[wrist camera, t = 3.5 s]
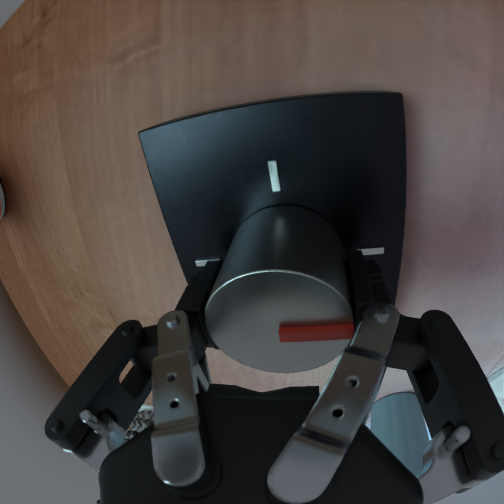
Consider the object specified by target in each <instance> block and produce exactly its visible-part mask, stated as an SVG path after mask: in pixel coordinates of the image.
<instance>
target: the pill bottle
mask: <svg viewBox="0 0 504 504" xmlns="http://www.w3.org/2000/svg"><path fill="white" fill-rule="evenodd" d="M4 212H5V197H4V193H3V189H2V185H1V183H0V219H1V218H2V217H3V215H4Z"/></svg>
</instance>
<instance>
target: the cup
mask: <svg viewBox="0 0 504 504" xmlns="http://www.w3.org/2000/svg"><path fill="white" fill-rule="evenodd" d="M370 430H371V431H372V432H373V433H374V435H375V436H376V437H377V438H378V439H379V440H380V441H381V442H382V443H383V444H384V445H385V446H386V447H387V448H388V449H389V450H390V451H391V452H392V453H393V454H394V455H395V456H396V457H397V458H398V459H399V460H400V461H401V462H402V463H403V464H404V465H405V466H406V467H407V468H408V469H409V470H410V471H411V472H412V473H413V474H414V475H415V476H416V477H417V478H418V476H419V475H420V473H421V471H422V468H423V458H422V457H423V451H424V449H425V447H426V445H427V444H428V443H429V442H430V441H429V437H428V433H427V429H426V426H425V422H424V419H423V415H422V412H421V408H420V405H419V402H418V399H417V397H416V395H414V394H413V393H406V392H405V393H396V394H392V395H389V396H386V397H384V398H382V399H380V400H378V401H377V402H376V403H375V404H374V405H373V407H372V413H371V429H370Z"/></svg>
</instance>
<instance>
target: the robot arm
mask: <svg viewBox="0 0 504 504" xmlns="http://www.w3.org/2000/svg"><path fill="white" fill-rule="evenodd" d="M223 262H224V260H208V261H207V262H206V264H205V266H204V268H203V270H202V271H198V272H197V273H196V274H195V275H194V276H193V277H191V279H190V281H189V283H188V286H187V287H186V289H185V292H184V293H183V295H182V297H181V299H180V301H179V302H178V304H177V306H176V308H175V310H174V311H170V312H168V313H166V314H164V315H163V316H162V317H161V318H160V319H159V321H158V324H157V325H153V326H148V327H144V328H143V327H142V325H141V324H140V322H139V321H137V320H128V321H126V322H123V323H122V324H120V325H119V326H118V327H117V328H116V330H115V331H114V332H113V333H112V335H111V336H110V337H109V338H108V340H107V341H106V342H105V343H104V345H103V346H102V347H101V348H100V350H99V351H98V352H97V353H96V355H95V356H94V357H93V359H92V360H91V361H90V362H89V364H88V365H87V366H86V368H85V369H84V370H83V371H82V373H81V374H80V375H79V377H78V378H77V379H76V381H75V382H74V383H73V385H72V386H71V387H70V389H69V390H68V391H67V393H66V394H65V395H64V397H63V398H62V400H61V401H60V403H59V404H58V405H57V407H56V408H55V409H54V411H53V412H52V413H51V415H50V416H49V418H48V419H47V421H46V424H45V434H46V436H47V437H48V438H49V439H50V440H51V441H53V442H54V443H56V444H57V445H58V446H60V447H61V448H62V449H63V450H64V451H66V452H67V453H69V454H70V455H72V456H73V457H75V458H76V459H78V460H80V461H83V462H84V463H86V464H87V465H89V466H90V467H91V468H93V469H94V470H96V471H97V472H98V473H99V486H100V504H431V503H434V502H436V501H438V500H441V499H443V498H445V497H447V496H449V495H451V494H453V493H462V492H465V491H466V490H469V489H471V488H473V487H475V486H477V485H478V484H480V483H482V482H484V481H486V480H487V479H489V478H491V477H493V476H495V475H496V474H498V473H500V472H501V471H502V470H504V413H503V411H502V409H501V406H500V404H499V402H498V400H497V398H496V396H495V394H494V392H493V390H492V388H491V386H490V384H489V382H488V380H487V378H486V376H485V374H484V372H483V371H482V369H481V367H480V365H479V363H478V361H477V360H476V358H475V356H474V354H473V353H472V351H471V349H470V347H469V346H468V344H467V342H466V341H465V339H464V337H463V336H462V334H461V333H460V331H459V329H458V328H457V326H456V325H455V323H454V321H453V320H452V318H451V317H450V316H449V315H448V314H447V313H445V312H443V311H440V310H430V311H427V312H425V313H424V314H423V315H422V316H421V318H420V319H419V318H412V317H407V316H404V315H402V314H400V313H399V311H398V309H397V308H396V307H395V306H393V305H392V303H391V300H390V297H389V293H388V290H387V287H386V284H385V282H384V277H383V275H382V271H381V268H380V266H379V265H378V264H377V263H376V262H375V261H374V260H364V257H363V253H362V250H352V251H346V252H345V263H346V268H347V274H348V280H349V286H350V292H351V298H352V305H353V312H354V319H355V328H354V337H353V339H352V341H351V344H350V346H349V347H345V348H344V350H343V351H342V353H341V355H340V357H339V359H338V361H337V363H336V365H335V367H334V369H333V371H332V373H331V375H330V377H329V379H328V381H327V382H326V384H325V386H324V388H323V390H322V392H321V394H319V386H304V387H287V388H282V389H278V390H273V391H268V392H257V391H253V390H249V389H246V388H242V387H239V386H236V385H223V384H212V381H211V376H210V371H209V367H208V362H207V357H206V354H205V350H206V347H212V348H215V347H216V344H215V343H214V342H213V340H212V339H211V337H210V335H209V333H208V331H207V328H206V325H205V319H204V313H205V307H206V303H207V301H208V299H209V296H210V294H211V291H212V289H213V286H214V284H215V282H216V279H217V277H218V274H219V272H220V269H221V267H222V265H223ZM130 360H131V362H132V363H133V364H134V365H133V367H132V368H131V369H130V371H129V372H128V374H127V375H126V377H125V378H124V379H123V381H122V382H121V384H120V382H119V376H120V374H121V372H122V371H123V369H124V368H125V366H126V365H127V364H128V362H129V361H130ZM387 367H390V368H396V369H402V370H406V371H407V373H408V376H409V378H410V381H411V383H412V386H413V388H414V391H415V393H416V396H417V399H418V401H419V404H420V407H421V409H422V412H423V415H424V418H425V420H426V423H427V426H428V429H429V432H430V435H431V438H432V440H431V441H430V442H429V443H428V444H427V445H426V447H425V449H424V451H423V457H422V458H423V468H422V471H421V473H420V475H419V476H418V478H417V477H416V476H415V475H414V474H413V473H412V472H411V471H410V470H409V469H408V468H407V467H406V466H405V465H404V464H403V463H402V462H401V461H400V460H399V459H398V458H397V457H396V456H395V455H394V454H393V453H392V452H391V451H390V450H389V449H388V448H387V447H386V446H385V445H384V444H383V443H382V442H381V441H380V440H379V439H378V438H377V437H376V436H375V435H374V433H373V432H372V431H371V430H370V429H369V428H368V427H367V426H366V425H365V424H366V421H367V419H368V417H369V414H370V412H371V409H372V407H373V404H374V401H375V399H376V396H377V393H378V391H379V388H380V386H381V383H382V380H383V377H384V375H385V372H386V369H387ZM151 390H152V394H153V413H154V422H153V423H152V424H150V425H149V426H148V427H146V428H145V429H144V430H142V431H141V432H139V433H138V434H136V435H135V436H134V437H132V438H131V439H129V440H128V441H126V440H125V438H126V434H125V432H126V430H127V429H128V427H129V426H130V424H131V422H132V421H133V419H134V418H135V416H136V414H137V413H138V411H139V409H140V408H141V406H142V405H143V403H144V401H145V400H146V398H147V397H148V395H149V393H150V392H151Z"/></svg>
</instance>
